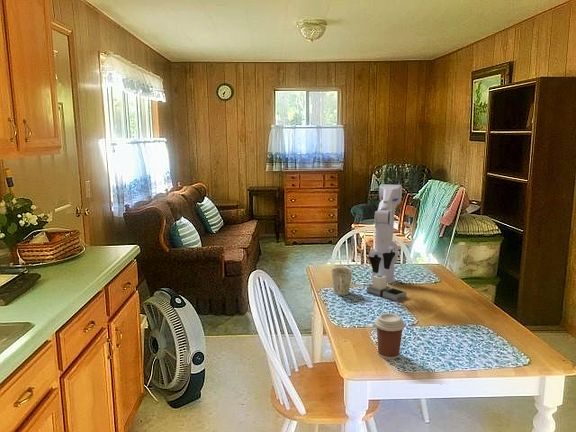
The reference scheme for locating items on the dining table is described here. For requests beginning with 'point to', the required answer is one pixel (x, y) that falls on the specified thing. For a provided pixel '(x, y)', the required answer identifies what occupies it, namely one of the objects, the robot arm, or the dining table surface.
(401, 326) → the coffee cup
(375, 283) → the plug
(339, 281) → the mug
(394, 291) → the panel
